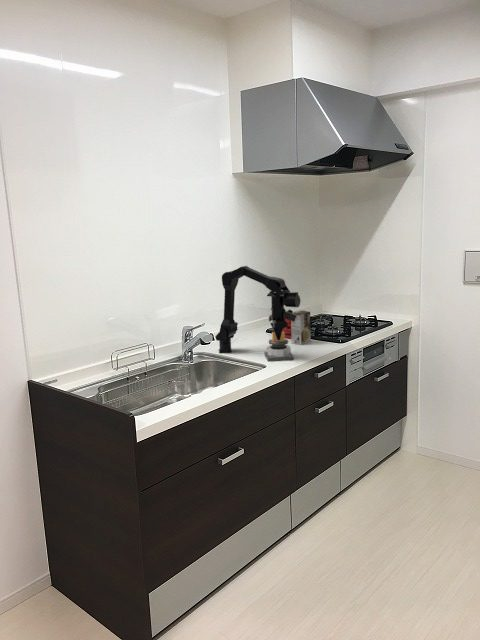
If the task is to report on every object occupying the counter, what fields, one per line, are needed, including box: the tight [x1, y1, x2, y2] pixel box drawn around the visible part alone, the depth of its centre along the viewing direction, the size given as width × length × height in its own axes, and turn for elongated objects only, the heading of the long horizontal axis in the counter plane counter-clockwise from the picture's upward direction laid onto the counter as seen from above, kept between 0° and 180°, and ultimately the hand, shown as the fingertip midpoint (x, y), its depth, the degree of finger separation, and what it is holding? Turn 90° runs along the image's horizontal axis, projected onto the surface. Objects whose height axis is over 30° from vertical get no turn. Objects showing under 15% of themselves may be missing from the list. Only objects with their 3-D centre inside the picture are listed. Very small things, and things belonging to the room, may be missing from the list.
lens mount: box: [263, 344, 295, 362], centre depth 253 cm, size 12×12×5 cm
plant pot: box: [282, 319, 292, 340], centre depth 294 cm, size 13×13×12 cm
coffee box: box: [291, 310, 312, 346], centre depth 280 cm, size 9×6×16 cm
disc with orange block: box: [268, 331, 289, 349], centre depth 252 cm, size 9×9×7 cm
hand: (278, 339), depth 252 cm, fingers closed on disc with orange block, 2 cm apart
